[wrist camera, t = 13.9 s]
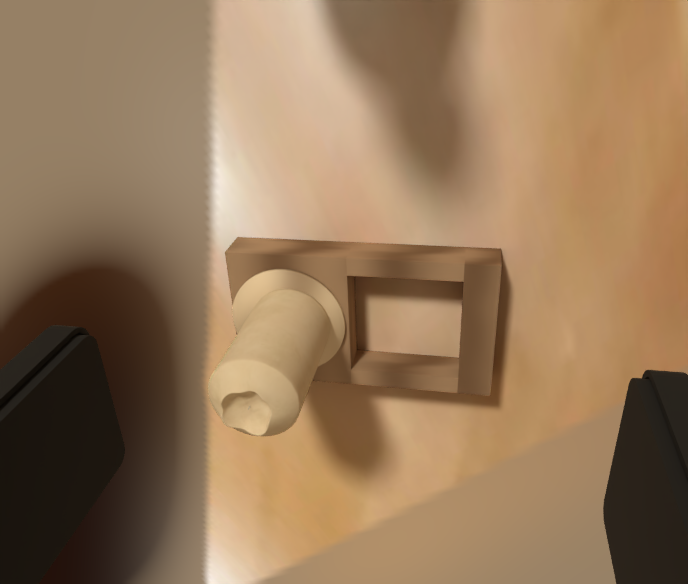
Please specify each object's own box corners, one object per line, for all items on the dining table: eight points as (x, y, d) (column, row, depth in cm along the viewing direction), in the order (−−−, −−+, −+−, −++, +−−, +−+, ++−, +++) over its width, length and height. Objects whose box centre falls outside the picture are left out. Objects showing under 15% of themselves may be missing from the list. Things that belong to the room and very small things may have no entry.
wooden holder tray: (501, 248, 41) (501, 268, 39) (490, 374, 46) (490, 398, 44) (237, 237, 45) (223, 254, 42) (252, 355, 50) (240, 376, 47)
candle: (346, 339, 44) (312, 437, 35) (281, 366, 46) (234, 464, 37) (303, 274, 42) (256, 361, 33) (238, 305, 44) (178, 394, 36)
